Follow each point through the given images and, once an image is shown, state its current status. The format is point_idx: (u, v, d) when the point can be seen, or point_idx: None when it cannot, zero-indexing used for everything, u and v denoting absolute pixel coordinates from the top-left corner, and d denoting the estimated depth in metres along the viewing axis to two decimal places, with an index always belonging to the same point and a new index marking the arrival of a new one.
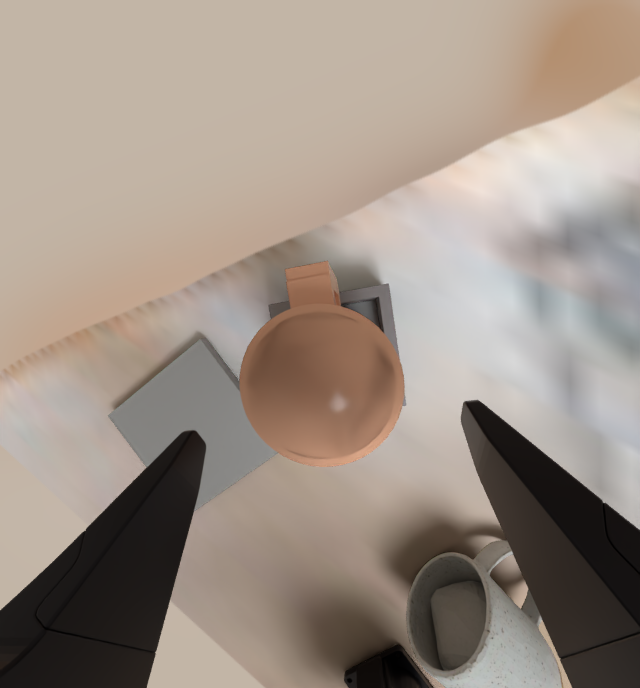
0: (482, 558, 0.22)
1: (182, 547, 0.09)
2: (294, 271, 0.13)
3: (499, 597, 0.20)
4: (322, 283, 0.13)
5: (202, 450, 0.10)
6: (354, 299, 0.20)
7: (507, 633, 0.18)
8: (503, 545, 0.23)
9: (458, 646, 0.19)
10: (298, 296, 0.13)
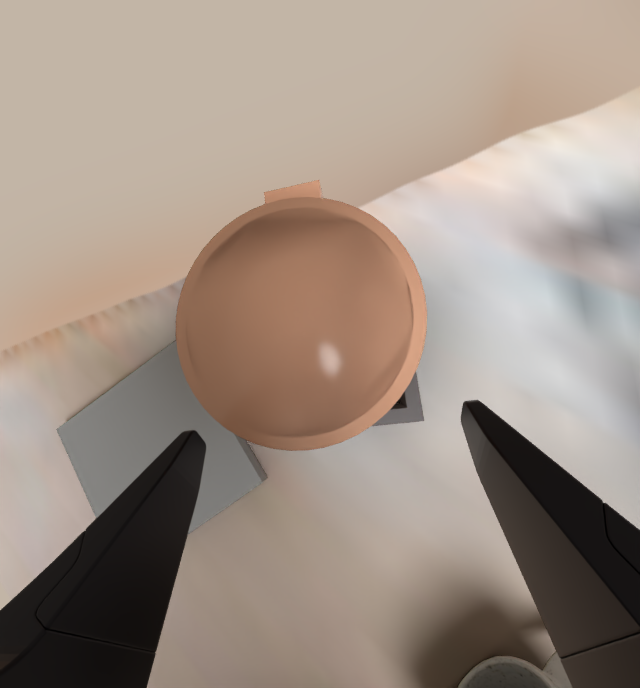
0: (557, 669, 0.14)
1: (182, 547, 0.09)
2: (276, 194, 0.10)
3: None
4: None
5: (202, 450, 0.10)
6: None
7: None
8: None
9: None
10: None
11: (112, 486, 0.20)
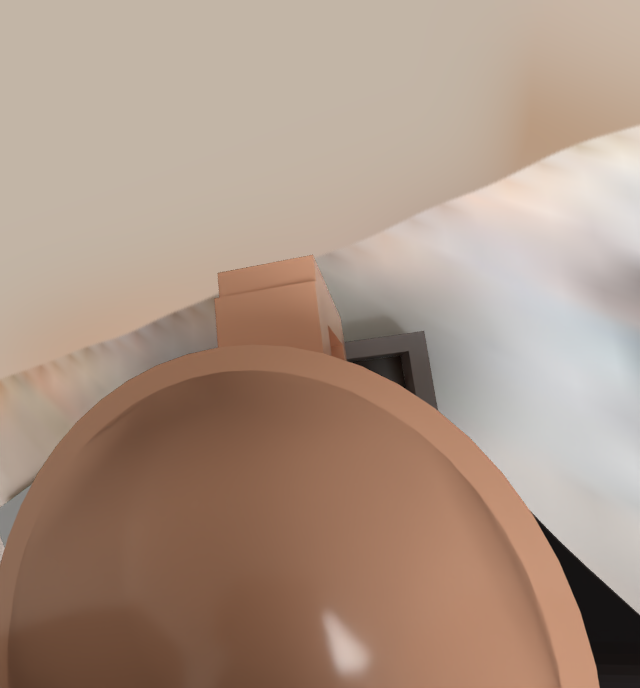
0: None
1: None
2: (238, 278, 0.06)
3: None
4: (297, 303, 0.05)
5: None
6: (369, 354, 0.13)
7: None
8: None
9: None
10: (239, 332, 0.05)
11: None
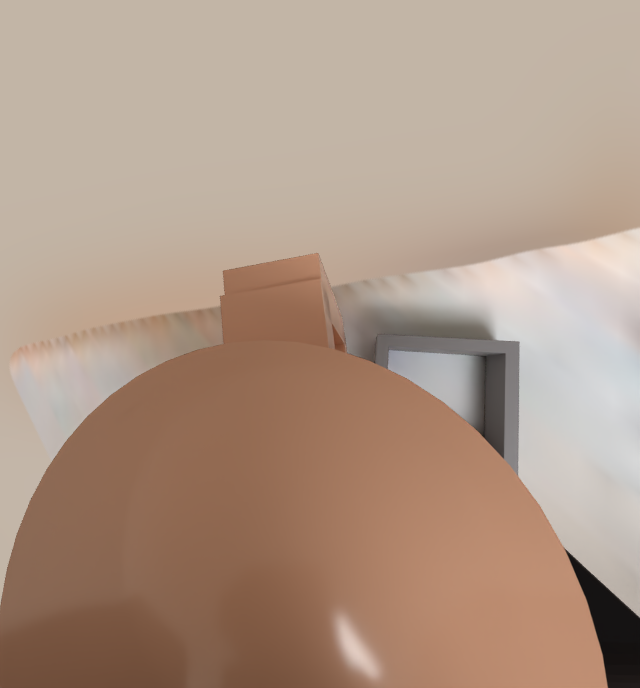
0: None
1: None
2: (243, 276, 0.06)
3: None
4: (302, 301, 0.05)
5: None
6: (476, 349, 0.19)
7: None
8: None
9: None
10: (245, 330, 0.05)
11: None
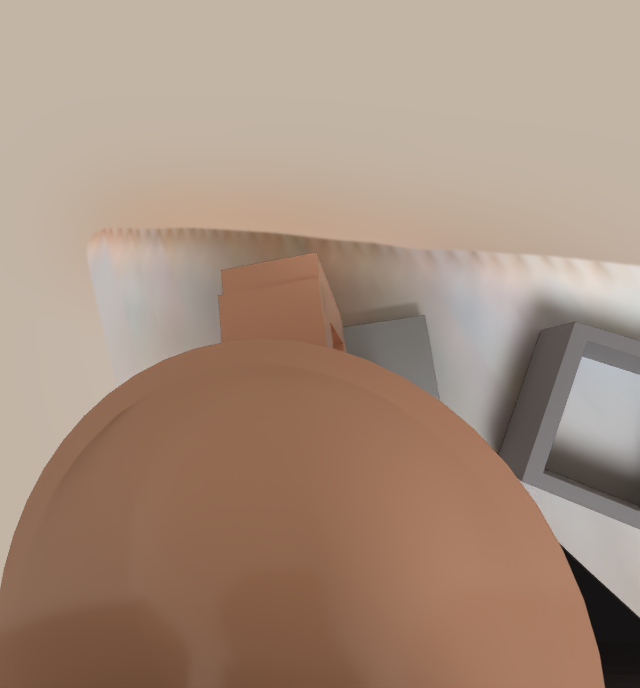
0: None
1: None
2: (241, 275, 0.06)
3: None
4: (300, 300, 0.05)
5: None
6: None
7: None
8: None
9: None
10: (243, 329, 0.05)
11: None
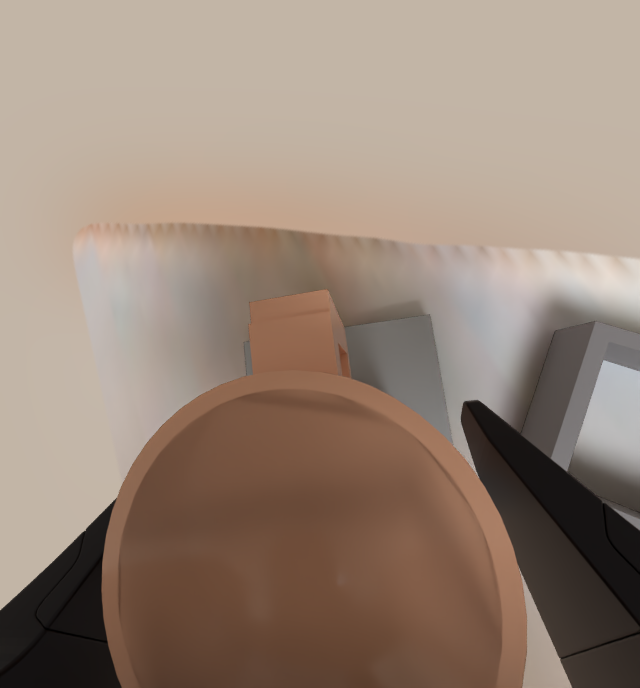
0: None
1: None
2: (266, 306, 0.07)
3: None
4: (315, 329, 0.07)
5: None
6: None
7: None
8: None
9: None
10: (269, 352, 0.07)
11: None
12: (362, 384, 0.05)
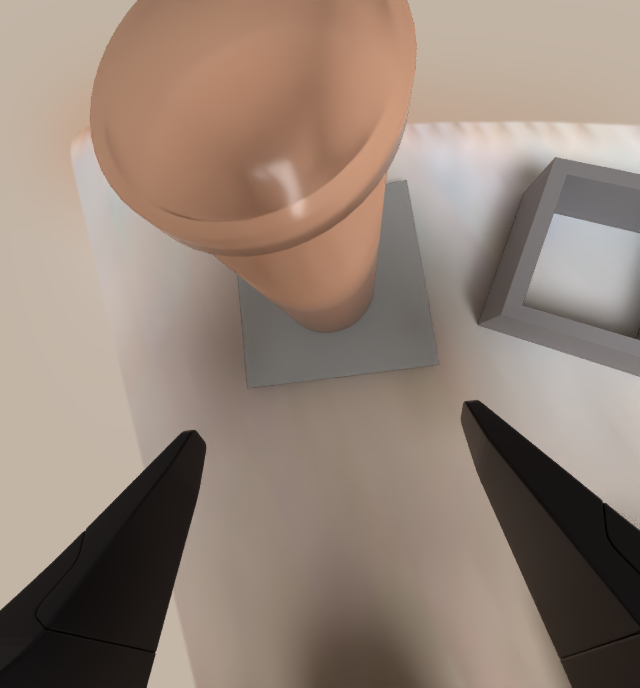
0: None
1: (182, 547, 0.09)
2: None
3: None
4: None
5: (202, 450, 0.10)
6: None
7: None
8: None
9: None
10: None
11: None
12: None
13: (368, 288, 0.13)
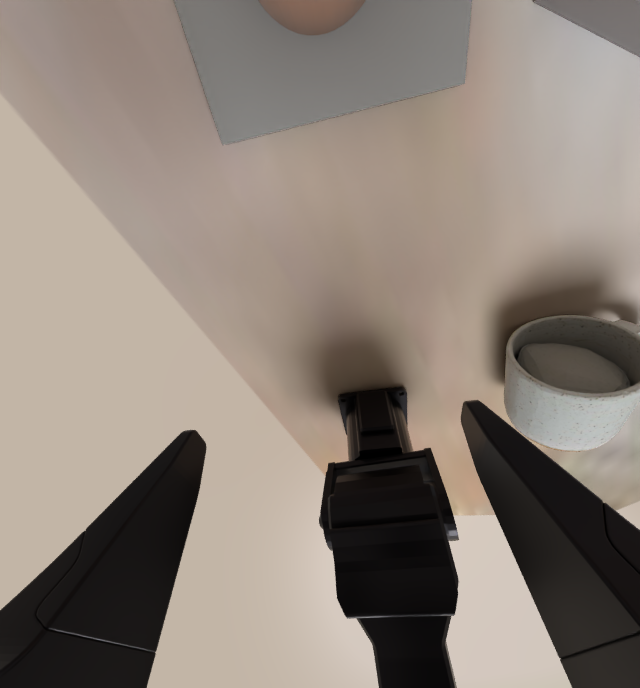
0: None
1: (182, 547, 0.09)
2: None
3: None
4: None
5: (202, 450, 0.10)
6: None
7: None
8: None
9: (577, 382, 0.18)
10: None
11: None
12: None
13: None
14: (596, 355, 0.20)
